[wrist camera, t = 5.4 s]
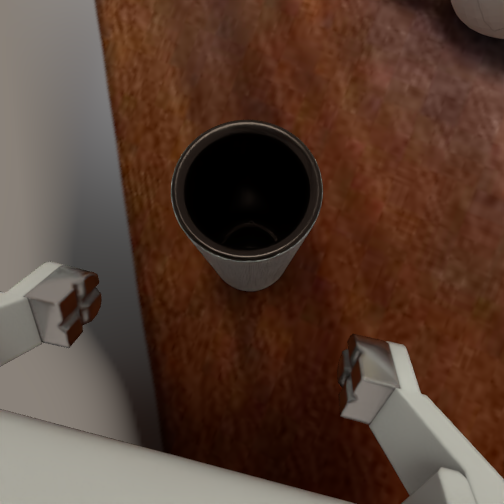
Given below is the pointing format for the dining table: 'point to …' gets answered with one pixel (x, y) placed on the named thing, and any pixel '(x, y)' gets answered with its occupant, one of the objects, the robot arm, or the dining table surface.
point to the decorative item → (482, 16)
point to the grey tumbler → (247, 199)
